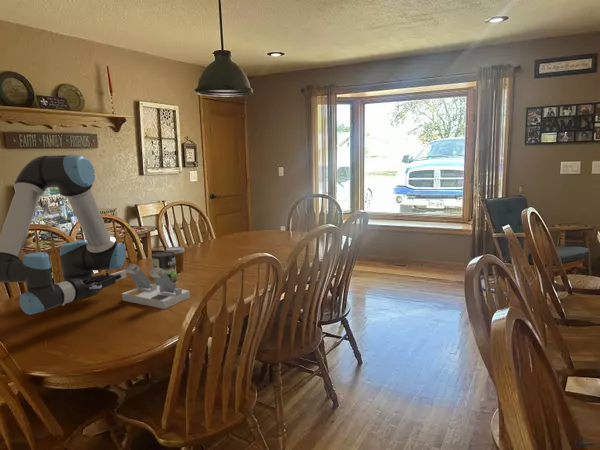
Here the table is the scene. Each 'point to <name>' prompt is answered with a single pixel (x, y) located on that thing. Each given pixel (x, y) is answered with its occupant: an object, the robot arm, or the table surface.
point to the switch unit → (155, 296)
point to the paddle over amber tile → (138, 276)
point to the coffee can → (165, 264)
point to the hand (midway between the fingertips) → (125, 273)
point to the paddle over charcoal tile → (162, 280)
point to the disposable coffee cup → (178, 257)
